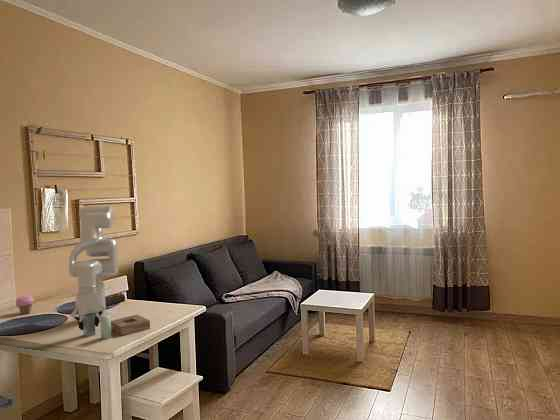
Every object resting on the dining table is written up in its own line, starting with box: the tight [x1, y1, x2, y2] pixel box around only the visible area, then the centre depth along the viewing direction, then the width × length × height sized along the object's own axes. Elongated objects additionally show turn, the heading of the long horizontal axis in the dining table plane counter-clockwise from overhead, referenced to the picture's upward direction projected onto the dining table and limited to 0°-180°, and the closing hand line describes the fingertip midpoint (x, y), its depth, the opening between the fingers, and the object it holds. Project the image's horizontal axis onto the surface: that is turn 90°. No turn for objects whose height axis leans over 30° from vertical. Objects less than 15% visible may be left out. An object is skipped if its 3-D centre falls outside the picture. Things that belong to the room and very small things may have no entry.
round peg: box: [99, 314, 112, 340], centre depth 193 cm, size 4×4×10 cm
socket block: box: [111, 314, 151, 337], centre depth 205 cm, size 14×14×4 cm
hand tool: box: [105, 293, 126, 306], centre depth 249 cm, size 23×5×6 cm, turn 146°
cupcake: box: [15, 295, 35, 315], centre depth 236 cm, size 9×9×10 cm
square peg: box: [82, 313, 96, 338], centre depth 198 cm, size 4×4×10 cm
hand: (89, 327), depth 198 cm, fingers open, 6 cm apart
